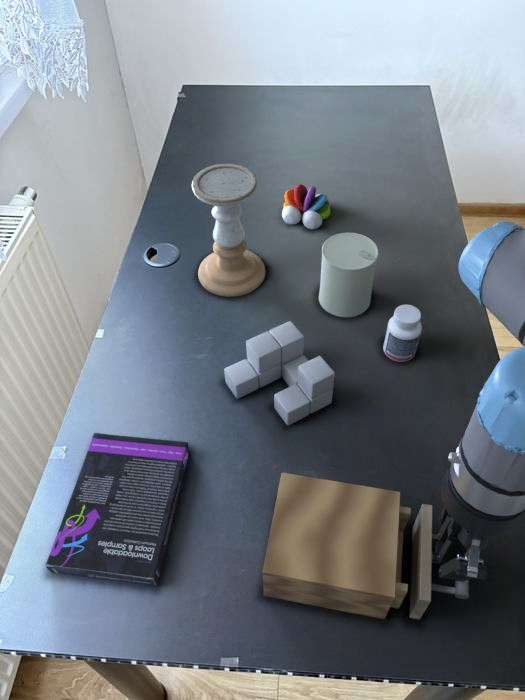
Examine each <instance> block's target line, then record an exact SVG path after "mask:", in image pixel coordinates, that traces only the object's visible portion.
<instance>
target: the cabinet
mask: <svg viewBox="0 0 525 700" xmlns="http://www.w3.org/2000/svg"><path fill="white" fill-rule="evenodd" d="M400 506H401V491H395V490H392V489H391V490H390V489H385V488H379V487H372V486H367V485H361V484H353V483H349V482H348V483H347V482H341V481H336V480H330V479H324V478H317V477H312V476H307V475H306V476H305V475H300V474H294V473H287V472H281V476H280V478H279V485H278V490H277V495H276V501H275V505H274V510H273V516H272V522H271V526H270V530H269V531H270V532H269V537H268V542H267V547H266V552H265V557H264V562H263V568H262V587H263V596H264V597H269V598H274V599H279V600H284V601H289V602H294V603H299V604H304V605H310V606H315V607H320V608H325V609H330V610H335V611H340V612H345V613H351V614H355V615H361V616H366V617H372V618H377V619H381V620H385V619H386V617H387V615H388V613H389V611H390V609H391V608H392V607H391V604H392V602H393V600H394V598H395V587H396V568H397V548H398V529H399V510H400Z"/></svg>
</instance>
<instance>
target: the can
mask: <svg viewBox="0 0 525 700" xmlns="http://www.w3.org/2000/svg"><path fill="white" fill-rule="evenodd" d="M378 259H379V248H378V246H377V244H376V242H374V240H372V239H371V238H369V237H368V236H367V235H364V234H360V233H358V232H357V233H356V232H340V233H336V234H333V235H332V236H330V237H329V238H327V239H326V240H325V241H324V243H322V247H321V267H320V268H321V269H320V280H319V281H320V283H319V292H318V301H319V304H320V306H321V308H322V309H323V310H324V311H326V312H327V313H329V314H331V315H333V316H336V317H340V318H353V317H357V316H359V315H361V314H363V313H365V312H366V311H367V310H368V309H369V307H370V305H371V302H372V301H371V299H372V292H373V291H372V290H373V285H374V281H375V280H374V279H375V274H376V273H375V272H376V267H377V262H378Z"/></svg>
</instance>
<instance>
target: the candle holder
mask: <svg viewBox="0 0 525 700" xmlns="http://www.w3.org/2000/svg"><path fill="white" fill-rule="evenodd" d="M257 189H258V179H257V176H256V174H255V173H254V172H253V171H252V169H249V168H248V167H245V166H243V165H240V164H237V163H236V164H235V163H217V164H213V165H209V166H207V167H205V168H203V169H201V170H200V171H199V172H197V173H196V174H195V175H194V177H193V179H192V181H191V190H192V193H193V195H194V196H195V197H196V198H197V199H198V200H199V201H200V202H202V203H205V204H208V205H211V206H213V207H212V209H211V215H212V217H213V218H214V219H215V224H214V228H213V231H212V238H213V240H214V243H213V245H212V250H213V252H212V253H210V254H208V256H206V257H205V258H204V259H203V260H202V261H201V263H200V265H199V268H198V271H197V273H198V274H197V275H198V280H199V282H200V284H201V286H202V287H203V288H204V289H205V290H206V291H208V292H209V293H211V294H214V295H216V296H220V297H227V298H228V297H229V298H230V297H231V298H232V297H240V296H244V295H246V294H247V295H248V294H249V293H252V292H253V291H256V289H258V288H259V287H260V285H262V283H263V282H264V280H265V277H266V267H265V264H264V262H263V260H262V258H261V257H259V256H258V255H257V254H255V253H254V252H253V251H250V250H248V249H247V243H246V241H245V236H246V234H245V229H244V227H243V225H242V223H241V220H240V219H241V218H240V217H241V216H242V214H243V209H242V207H241V205H240V204H242V203H244V202H246V201H247V200H249V199H251V198H252V197H253V196H254V194H256V191H257Z"/></svg>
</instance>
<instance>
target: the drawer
mask: <svg viewBox="0 0 525 700" xmlns="http://www.w3.org/2000/svg"><path fill="white" fill-rule="evenodd" d="M411 513H412V508H411V507H409V506H408V507H407V506H403V505H402V506H401V505H400V510H399V529H398V548H397V568H396V587H395V598H394V600H393V602H392V604H391V607H390V608H394V609H400V607H401V605H402V603H403V601H404V599H405V597H406V595H407V593H408V590H409V584H408V583H402V568H403V549H404V531H405V529H406V527H407V524H408V522H409V519H410V517H411ZM412 525H413V526H412V534H411V535H412V536H411V537H412V538H411V561H410V563H411V565H410V591H409V593H410V594H409V618H410V619H414V620H420V619H422V616H423V615H424V613H425V612H426V611H427V609H428V607H429V606H430V604H431V603H432V602H431V601H432V591H433V592H440V593H444V594H451V595H454V596H455V598H457V599H460V600H468V599H469V598H470V585H469V583H470V582H469V580H470V579H469V580H466V581H464V582H460V581H455V580H454V587H452V586H447V585H442V584H437V583H433V582H432V576H431V564H432V562H431V556H432V551H433V541H434V542H437V543H438V542H439V541H438V534H435V533H433V505H432V504H427V503H422V504H421V507H420V509H419V511H418V513H417V516H416V518H415V520H414V523H413V524H412Z"/></svg>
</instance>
